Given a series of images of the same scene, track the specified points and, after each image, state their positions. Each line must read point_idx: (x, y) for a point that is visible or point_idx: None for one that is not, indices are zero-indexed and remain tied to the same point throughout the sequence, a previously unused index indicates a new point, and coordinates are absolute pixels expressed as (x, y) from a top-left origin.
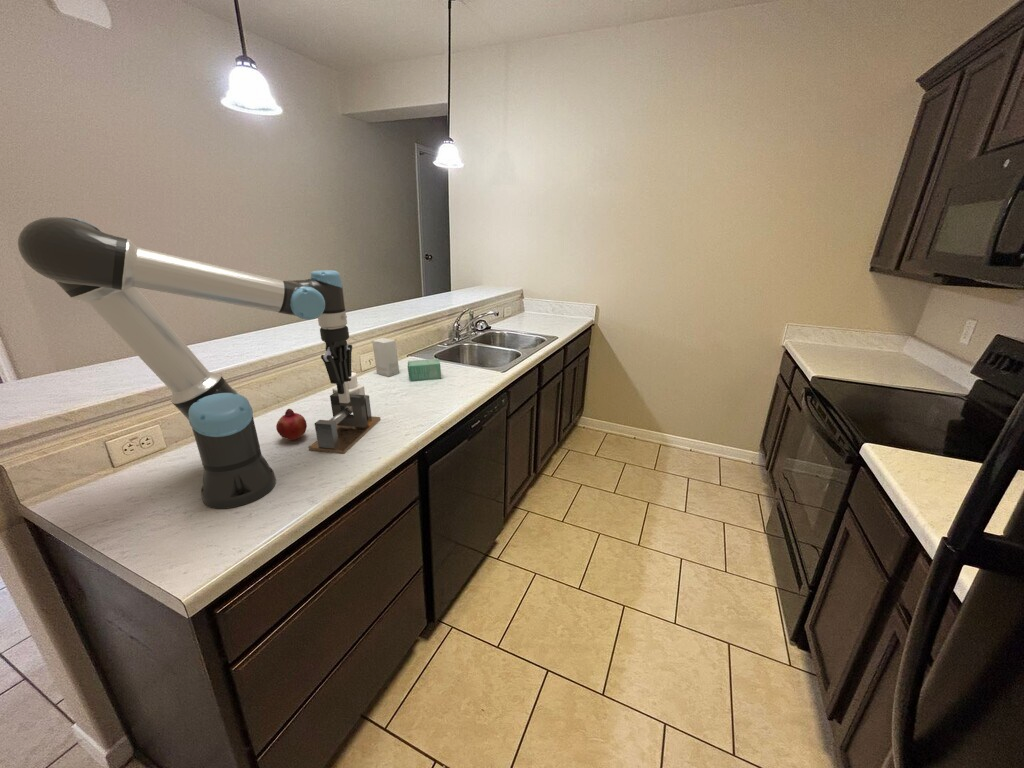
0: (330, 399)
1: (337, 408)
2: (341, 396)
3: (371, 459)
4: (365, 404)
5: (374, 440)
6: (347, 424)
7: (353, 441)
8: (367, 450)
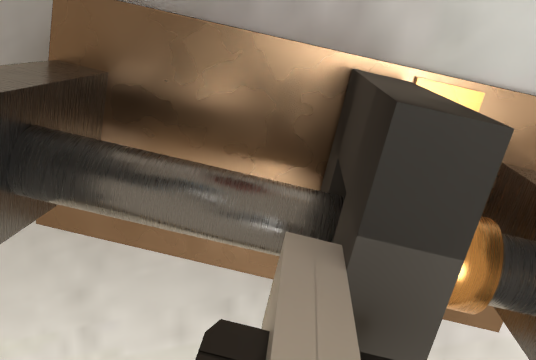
0: (385, 96)
1: (353, 147)
2: (270, 309)
3: (8, 355)
4: (515, 329)
5: (203, 334)
6: (323, 179)
7: (147, 247)
8: (91, 321)
